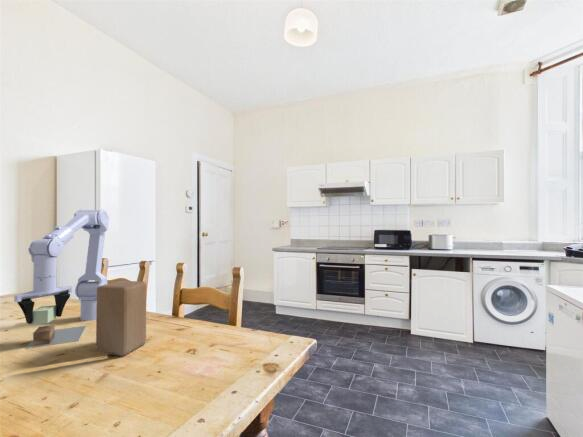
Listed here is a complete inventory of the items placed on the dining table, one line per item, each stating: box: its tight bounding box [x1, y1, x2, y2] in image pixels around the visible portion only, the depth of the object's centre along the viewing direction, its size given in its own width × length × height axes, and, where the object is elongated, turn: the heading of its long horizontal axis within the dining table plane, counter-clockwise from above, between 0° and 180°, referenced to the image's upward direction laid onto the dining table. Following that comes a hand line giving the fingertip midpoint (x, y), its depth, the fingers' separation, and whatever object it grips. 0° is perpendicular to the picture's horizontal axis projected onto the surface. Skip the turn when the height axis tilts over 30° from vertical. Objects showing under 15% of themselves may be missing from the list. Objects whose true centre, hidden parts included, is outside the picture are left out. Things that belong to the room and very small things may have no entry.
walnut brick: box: [32, 324, 56, 346], centre depth 94 cm, size 4×6×4 cm, turn 27°
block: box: [95, 280, 147, 357], centre depth 91 cm, size 10×10×20 cm
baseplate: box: [24, 325, 87, 350], centre depth 98 cm, size 13×16×1 cm
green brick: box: [31, 304, 57, 325], centre depth 94 cm, size 4×6×4 cm, turn 18°
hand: (44, 319), depth 94 cm, fingers closed on green brick, 7 cm apart
